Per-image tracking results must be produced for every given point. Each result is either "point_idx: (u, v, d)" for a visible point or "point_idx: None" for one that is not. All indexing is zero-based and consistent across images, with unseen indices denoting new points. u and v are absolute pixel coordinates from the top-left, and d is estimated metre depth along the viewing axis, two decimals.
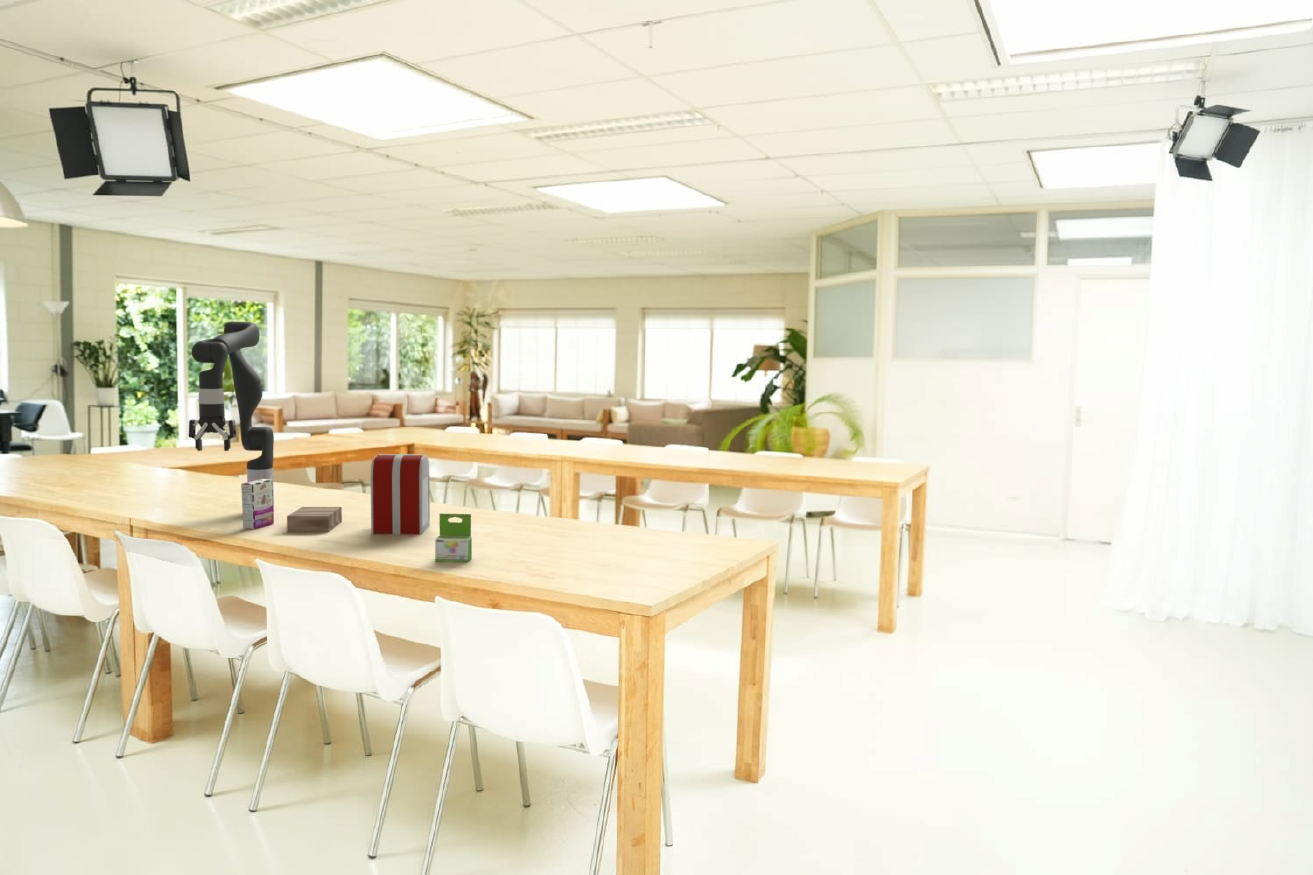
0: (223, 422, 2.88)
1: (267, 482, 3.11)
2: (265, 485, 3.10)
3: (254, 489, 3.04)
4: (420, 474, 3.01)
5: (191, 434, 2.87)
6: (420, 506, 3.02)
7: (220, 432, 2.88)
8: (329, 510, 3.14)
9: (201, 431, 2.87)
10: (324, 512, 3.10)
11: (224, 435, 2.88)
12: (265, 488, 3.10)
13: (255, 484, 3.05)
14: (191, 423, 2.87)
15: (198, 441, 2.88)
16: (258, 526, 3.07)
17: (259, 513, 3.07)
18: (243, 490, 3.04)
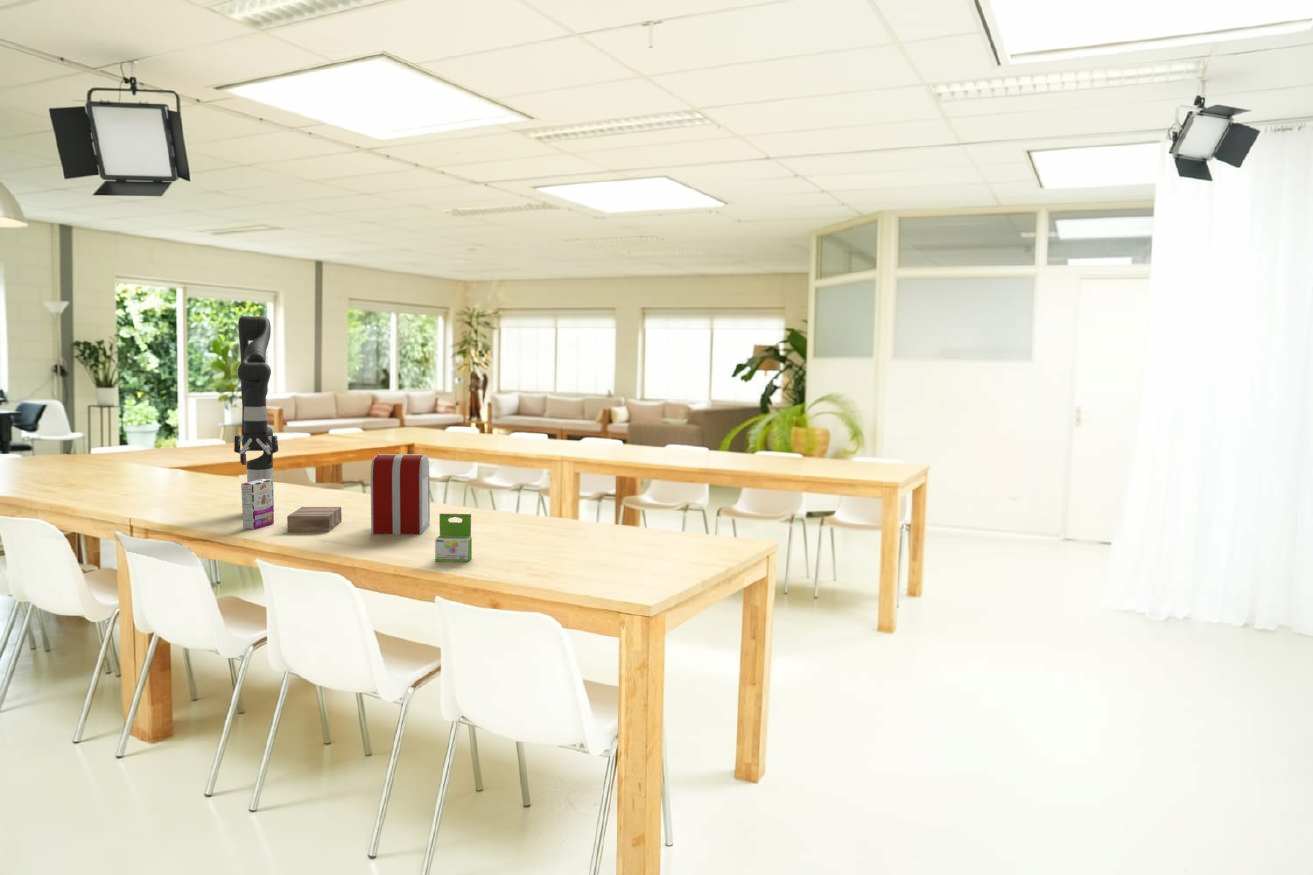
0: (266, 438, 3.07)
1: (267, 482, 3.11)
2: (265, 485, 3.10)
3: (254, 489, 3.04)
4: (420, 474, 3.01)
5: (236, 449, 3.06)
6: (420, 506, 3.02)
7: (263, 447, 3.07)
8: (329, 510, 3.14)
9: (246, 446, 3.06)
10: (324, 512, 3.10)
11: (267, 450, 3.07)
12: (264, 488, 3.10)
13: (255, 484, 3.05)
14: (236, 439, 3.06)
15: (243, 456, 3.07)
16: (258, 526, 3.07)
17: (259, 513, 3.07)
18: (243, 490, 3.04)
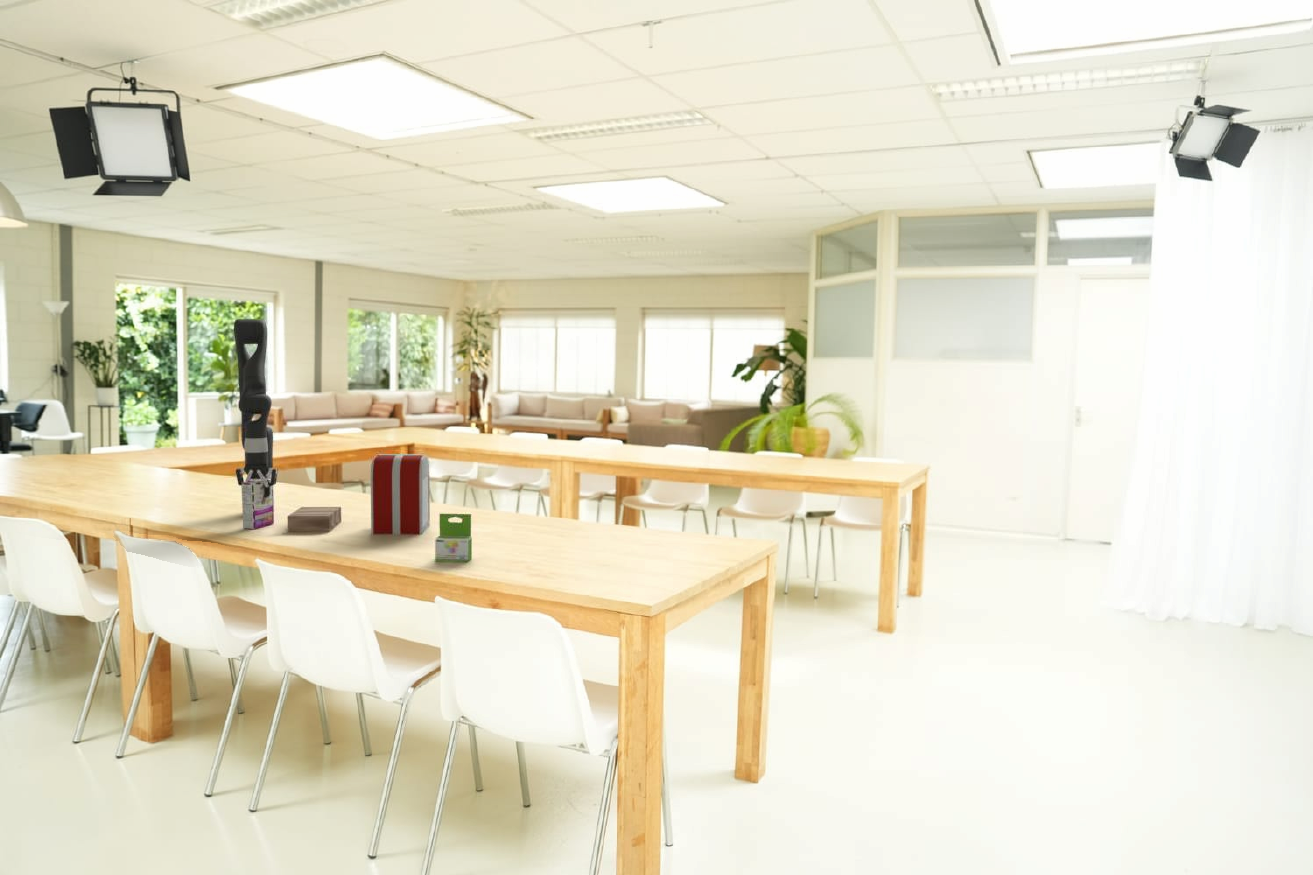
0: (267, 469, 3.08)
1: None
2: None
3: (254, 489, 3.04)
4: (420, 474, 3.01)
5: (240, 482, 3.07)
6: (420, 506, 3.02)
7: (262, 479, 3.08)
8: (329, 510, 3.14)
9: (248, 478, 3.07)
10: (324, 512, 3.10)
11: (265, 482, 3.08)
12: None
13: (255, 484, 3.05)
14: (238, 472, 3.07)
15: None
16: (258, 526, 3.07)
17: (259, 513, 3.07)
18: (243, 490, 3.04)
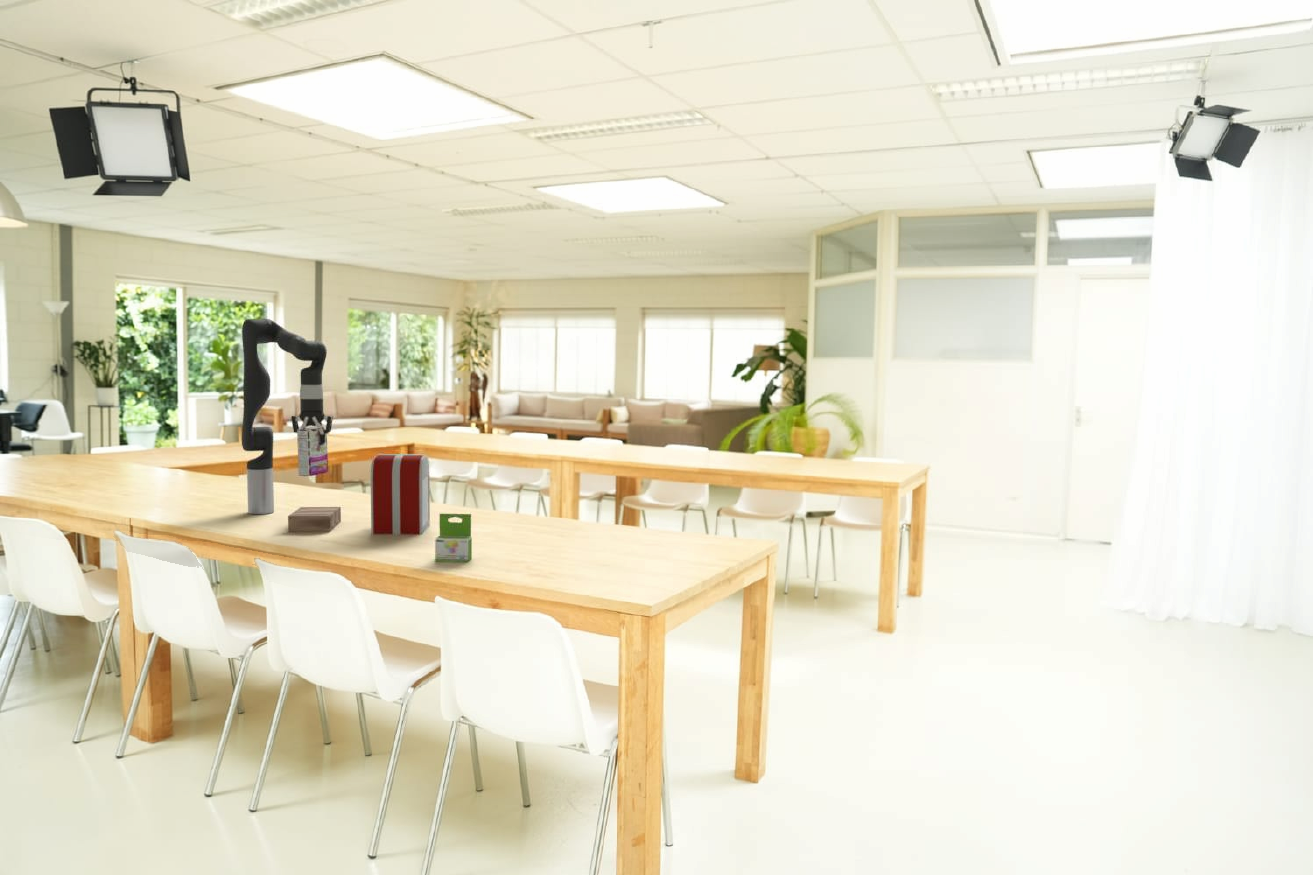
0: (322, 416, 3.07)
1: None
2: None
3: (310, 436, 3.03)
4: (420, 474, 3.01)
5: (295, 429, 3.07)
6: (420, 506, 3.02)
7: (318, 426, 3.07)
8: (329, 510, 3.14)
9: (304, 425, 3.06)
10: (324, 512, 3.10)
11: (321, 430, 3.07)
12: None
13: (311, 431, 3.04)
14: (293, 419, 3.06)
15: None
16: (313, 473, 3.06)
17: (314, 460, 3.06)
18: (299, 436, 3.03)
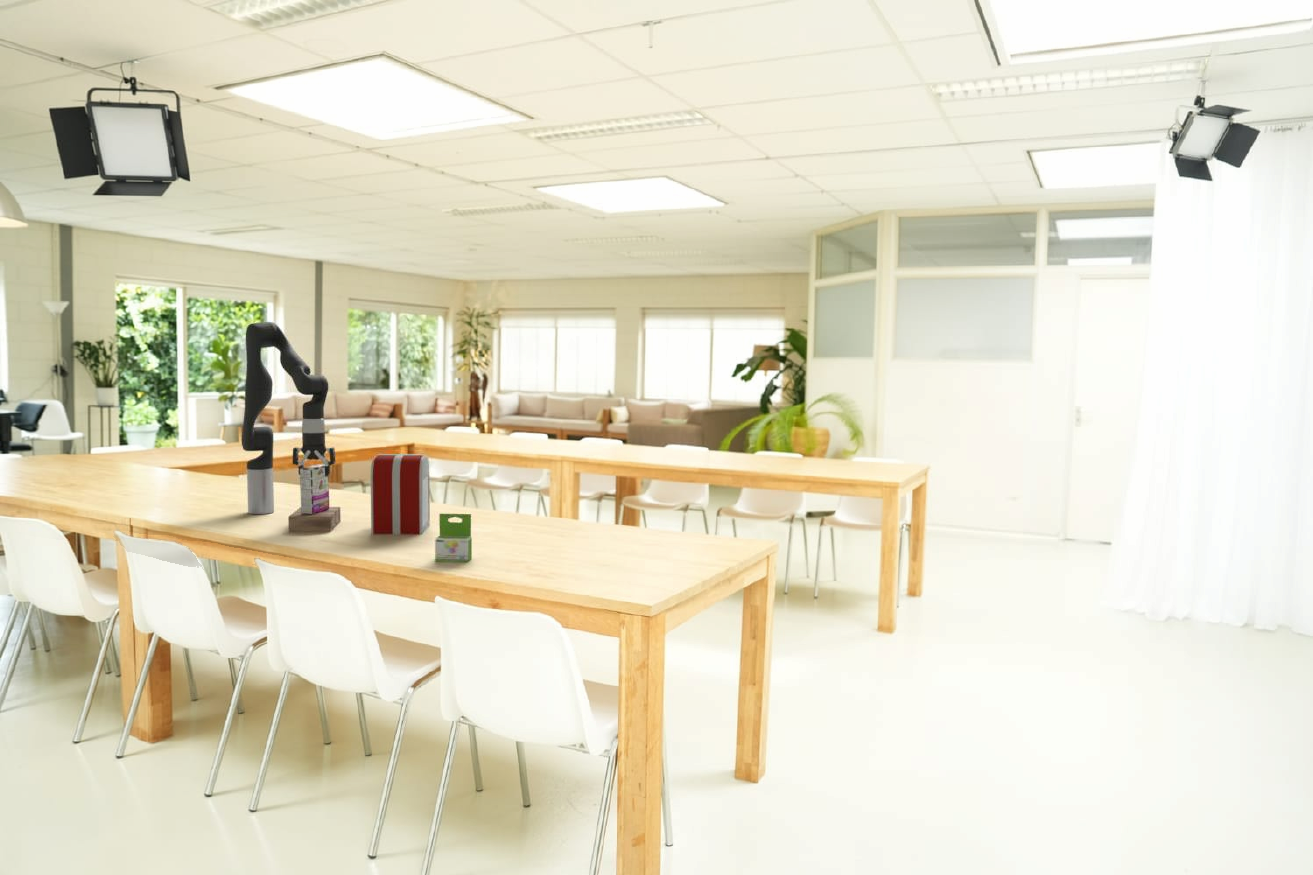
0: (324, 450, 3.09)
1: (324, 467, 3.12)
2: (322, 470, 3.10)
3: (313, 474, 3.05)
4: (420, 474, 3.01)
5: (295, 461, 3.08)
6: (420, 506, 3.02)
7: (321, 459, 3.08)
8: (329, 510, 3.14)
9: (304, 458, 3.08)
10: (325, 512, 3.10)
11: (325, 462, 3.09)
12: (322, 473, 3.10)
13: (313, 469, 3.05)
14: (295, 451, 3.07)
15: (301, 467, 3.08)
16: (316, 511, 3.08)
17: (316, 499, 3.08)
18: (301, 475, 3.05)
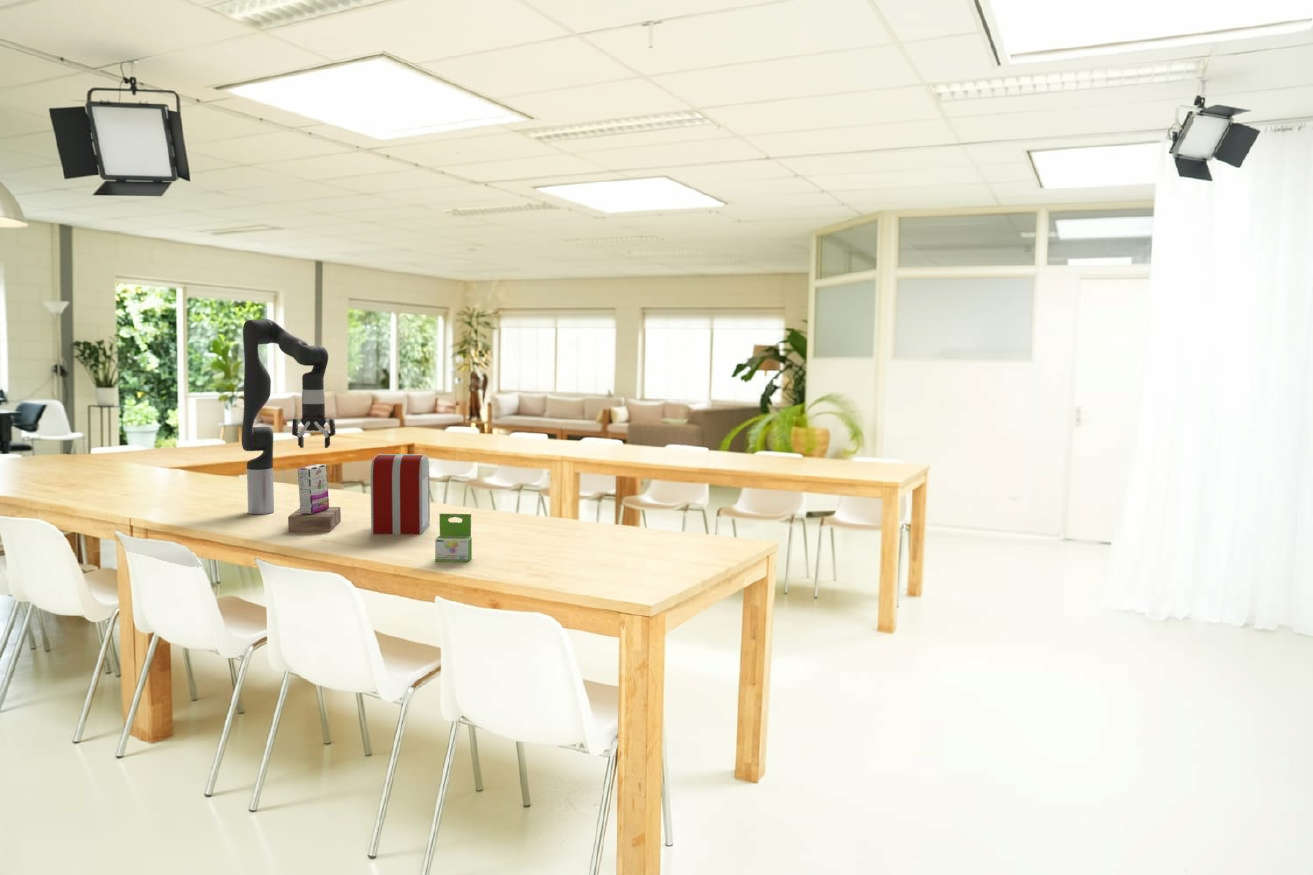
0: (324, 421, 3.08)
1: (322, 467, 3.12)
2: (320, 470, 3.10)
3: (311, 474, 3.05)
4: (420, 474, 3.01)
5: (294, 432, 3.07)
6: (420, 506, 3.02)
7: (321, 430, 3.07)
8: (329, 510, 3.14)
9: (304, 429, 3.06)
10: (324, 512, 3.10)
11: (325, 433, 3.08)
12: (320, 473, 3.10)
13: (311, 469, 3.05)
14: (294, 422, 3.06)
15: (301, 439, 3.07)
16: (315, 511, 3.08)
17: (315, 498, 3.08)
18: (299, 475, 3.05)
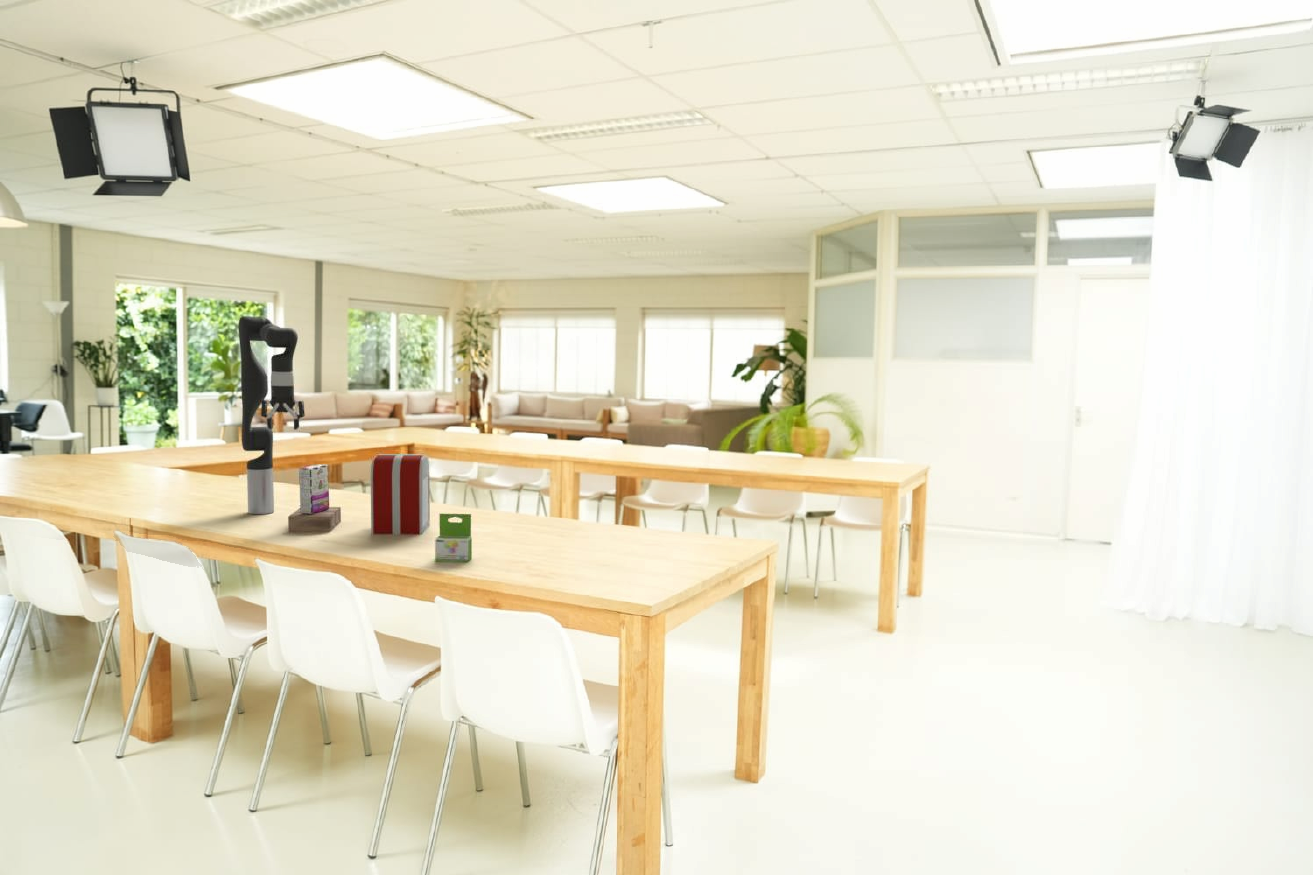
0: (293, 403, 3.10)
1: (323, 467, 3.12)
2: (321, 470, 3.11)
3: (312, 474, 3.05)
4: (420, 474, 3.01)
5: (263, 413, 3.09)
6: (420, 506, 3.02)
7: (290, 412, 3.10)
8: (329, 510, 3.14)
9: (273, 411, 3.09)
10: (325, 512, 3.10)
11: (294, 415, 3.11)
12: (321, 473, 3.11)
13: (313, 469, 3.06)
14: (263, 403, 3.09)
15: (270, 420, 3.10)
16: (315, 511, 3.08)
17: (316, 498, 3.08)
18: (300, 475, 3.05)
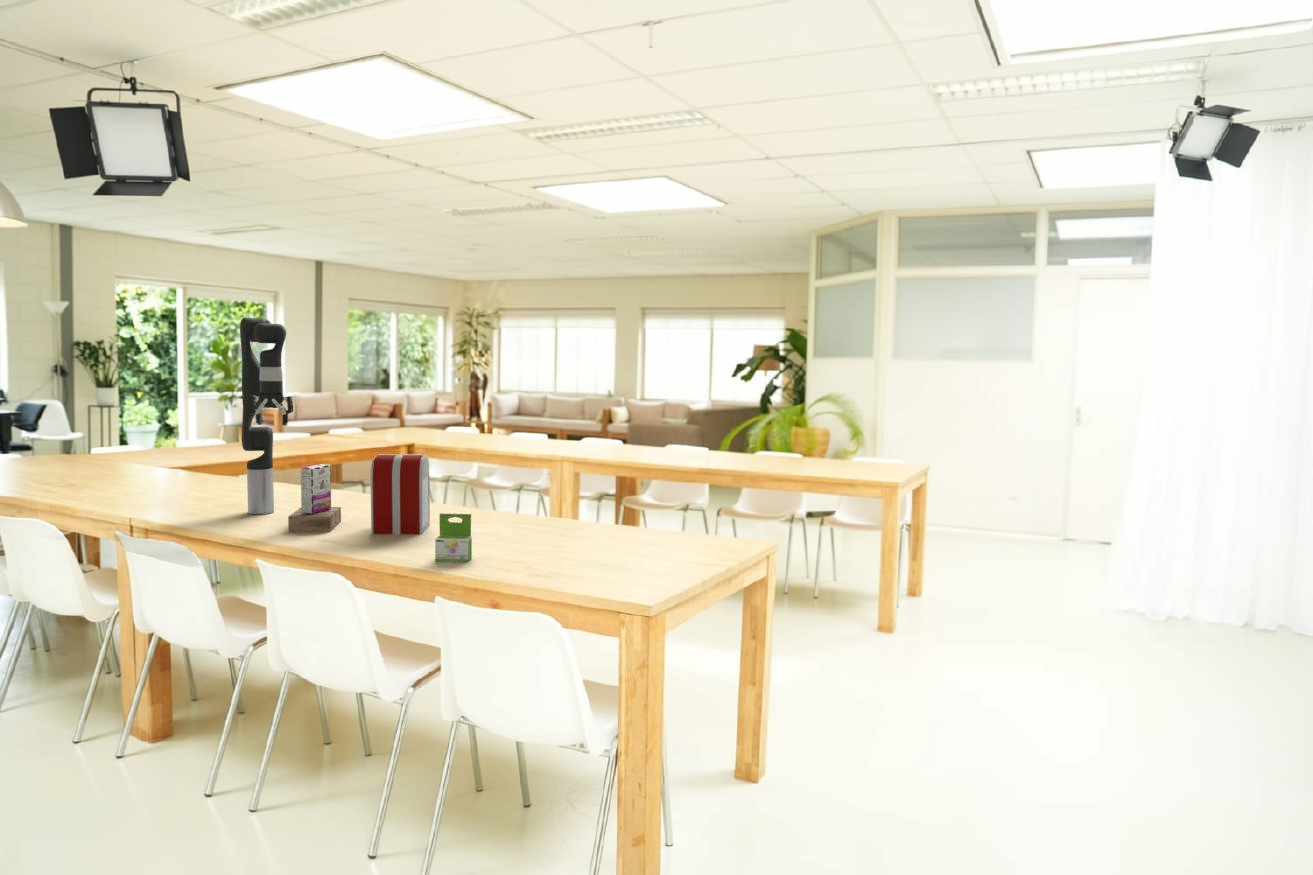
0: (282, 398, 3.11)
1: (326, 467, 3.12)
2: (323, 470, 3.11)
3: (313, 474, 3.05)
4: (420, 474, 3.01)
5: (252, 409, 3.10)
6: (420, 506, 3.02)
7: (279, 407, 3.11)
8: (329, 510, 3.14)
9: (261, 406, 3.10)
10: (325, 512, 3.10)
11: (283, 410, 3.11)
12: (323, 473, 3.10)
13: (314, 469, 3.06)
14: (252, 399, 3.10)
15: (259, 416, 3.11)
16: (316, 511, 3.08)
17: (317, 498, 3.08)
18: (302, 474, 3.05)
